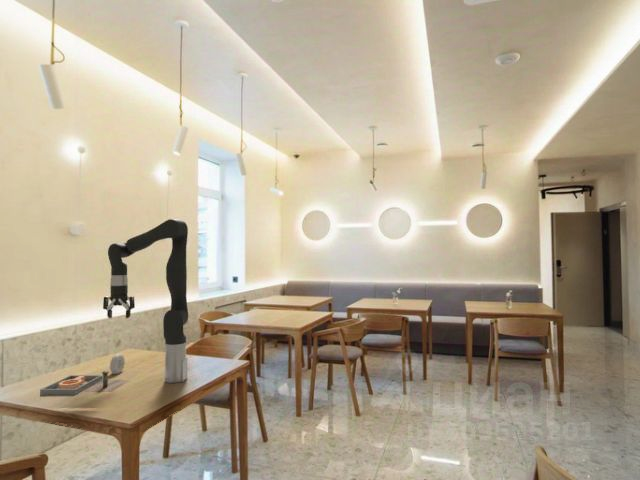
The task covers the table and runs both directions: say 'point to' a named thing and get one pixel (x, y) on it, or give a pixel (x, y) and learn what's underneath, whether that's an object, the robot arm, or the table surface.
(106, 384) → the panel
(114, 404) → the table surface
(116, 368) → the donut
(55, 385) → the tray
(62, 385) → the ring
